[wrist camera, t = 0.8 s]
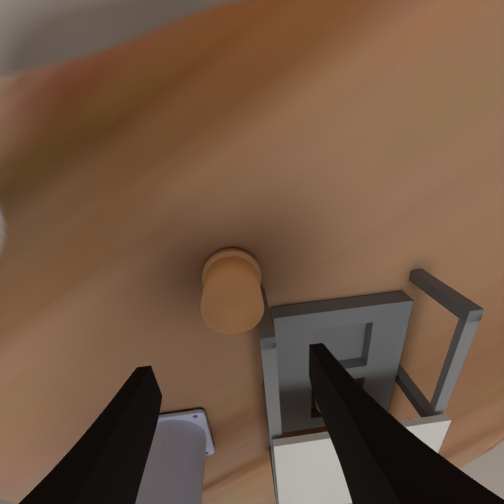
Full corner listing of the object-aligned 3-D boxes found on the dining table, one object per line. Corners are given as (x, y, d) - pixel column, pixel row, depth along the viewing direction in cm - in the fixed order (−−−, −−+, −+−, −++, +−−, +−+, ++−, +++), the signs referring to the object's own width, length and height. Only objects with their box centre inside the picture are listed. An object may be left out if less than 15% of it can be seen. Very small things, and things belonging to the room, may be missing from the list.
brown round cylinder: (208, 298, 20) (202, 342, 16) (198, 249, 19) (188, 283, 14) (261, 291, 21) (270, 333, 16) (257, 242, 19) (266, 273, 14)
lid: (279, 513, 25) (283, 543, 23) (272, 439, 19) (277, 471, 17) (416, 491, 25) (431, 519, 23) (446, 413, 20) (469, 442, 18)
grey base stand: (269, 452, 31) (277, 513, 25) (252, 290, 20) (259, 338, 15) (384, 434, 31) (414, 491, 26) (422, 269, 21) (484, 309, 16)
